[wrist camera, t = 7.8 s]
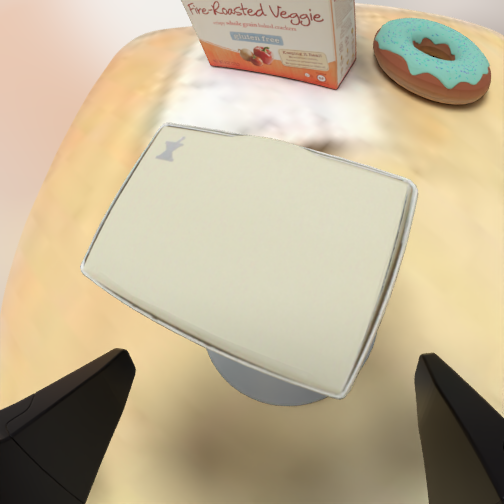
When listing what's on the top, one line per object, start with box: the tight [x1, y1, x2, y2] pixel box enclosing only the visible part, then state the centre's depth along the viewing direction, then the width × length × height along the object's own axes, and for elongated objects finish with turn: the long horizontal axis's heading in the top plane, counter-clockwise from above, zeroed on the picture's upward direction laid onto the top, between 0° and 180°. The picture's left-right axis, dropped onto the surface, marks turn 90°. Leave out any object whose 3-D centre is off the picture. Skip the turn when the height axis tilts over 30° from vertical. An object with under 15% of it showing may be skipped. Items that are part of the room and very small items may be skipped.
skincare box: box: [80, 123, 418, 399], centre depth 11 cm, size 6×4×12 cm
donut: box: [373, 18, 491, 104], centre depth 21 cm, size 12×12×4 cm
